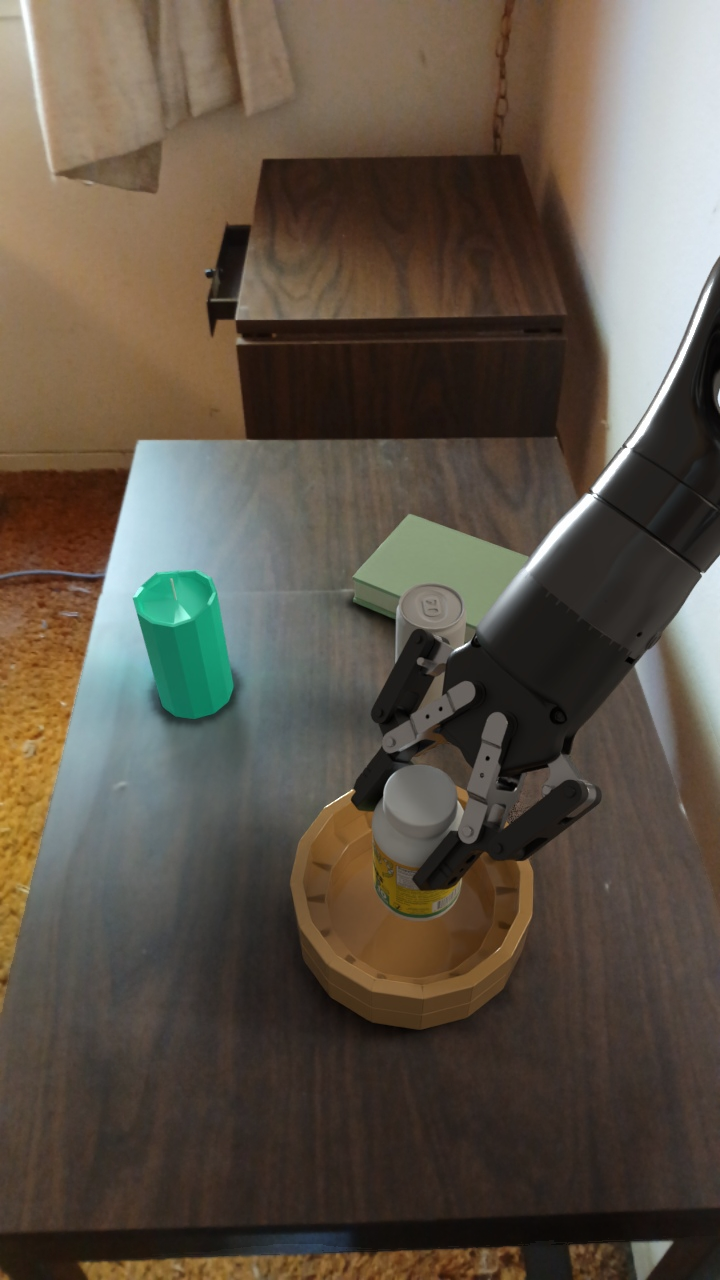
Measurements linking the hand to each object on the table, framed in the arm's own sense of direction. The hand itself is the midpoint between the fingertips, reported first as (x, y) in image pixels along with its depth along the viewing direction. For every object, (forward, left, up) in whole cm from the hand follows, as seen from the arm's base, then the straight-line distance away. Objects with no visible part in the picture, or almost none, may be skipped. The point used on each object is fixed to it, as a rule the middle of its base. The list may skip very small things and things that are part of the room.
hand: (393, 844), depth 49 cm
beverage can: (+6, -17, -11) cm, 21 cm away
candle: (+23, -10, -11) cm, 27 cm away
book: (+11, -30, -10) cm, 33 cm away
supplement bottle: (-1, -2, -6) cm, 7 cm away
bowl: (-1, -2, -10) cm, 11 cm away
